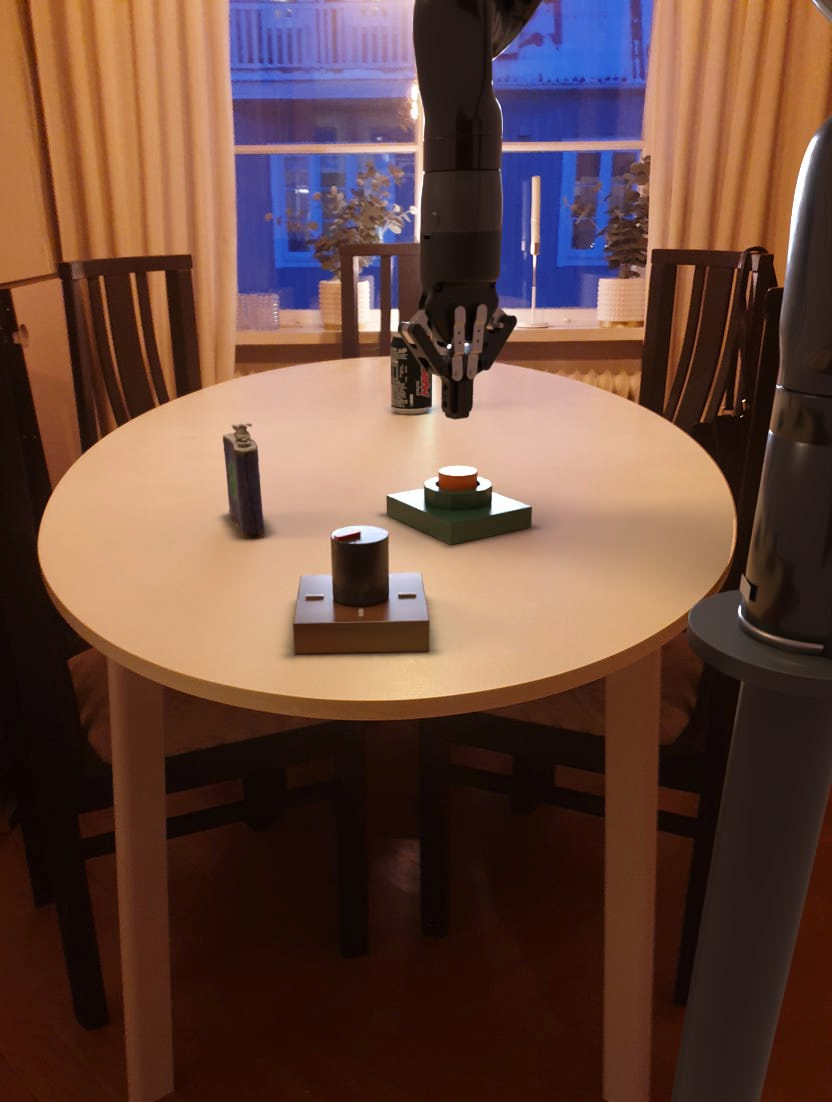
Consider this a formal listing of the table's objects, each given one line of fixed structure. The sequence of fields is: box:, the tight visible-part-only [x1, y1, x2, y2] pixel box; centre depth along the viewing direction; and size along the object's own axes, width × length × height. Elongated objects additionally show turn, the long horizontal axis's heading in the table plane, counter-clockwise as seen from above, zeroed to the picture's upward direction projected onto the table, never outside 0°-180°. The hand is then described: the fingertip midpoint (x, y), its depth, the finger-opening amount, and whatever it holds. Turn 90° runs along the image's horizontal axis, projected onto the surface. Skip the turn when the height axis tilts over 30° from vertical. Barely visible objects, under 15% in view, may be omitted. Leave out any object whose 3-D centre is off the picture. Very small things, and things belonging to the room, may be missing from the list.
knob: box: [330, 525, 390, 606], centre depth 71 cm, size 4×4×5 cm
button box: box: [385, 476, 533, 546], centre depth 97 cm, size 12×10×4 cm
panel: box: [292, 572, 431, 655], centre depth 73 cm, size 10×10×3 cm
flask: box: [222, 422, 266, 540], centre depth 96 cm, size 9×3×11 cm, turn 17°
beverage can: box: [390, 332, 433, 415], centre depth 149 cm, size 7×7×12 cm
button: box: [437, 465, 479, 490], centre depth 96 cm, size 4×4×2 cm
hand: (456, 417), depth 93 cm, fingers closed
